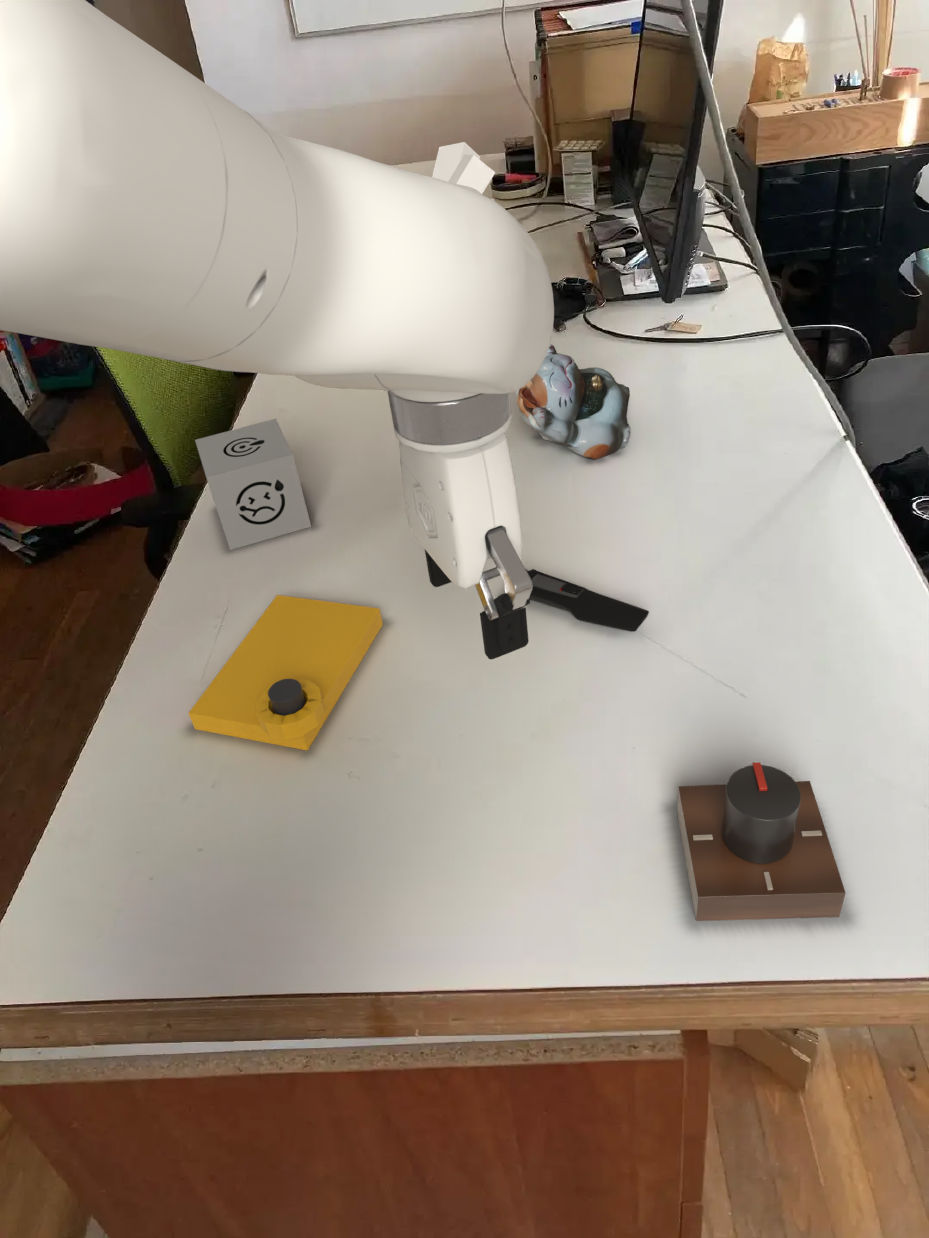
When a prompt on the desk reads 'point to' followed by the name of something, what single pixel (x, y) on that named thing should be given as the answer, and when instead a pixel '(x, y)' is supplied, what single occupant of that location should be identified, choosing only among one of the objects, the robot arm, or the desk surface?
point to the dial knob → (760, 813)
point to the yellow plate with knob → (288, 670)
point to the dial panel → (750, 888)
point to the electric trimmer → (585, 603)
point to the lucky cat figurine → (576, 406)
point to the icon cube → (253, 483)
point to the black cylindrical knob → (286, 697)
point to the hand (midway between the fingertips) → (477, 613)
